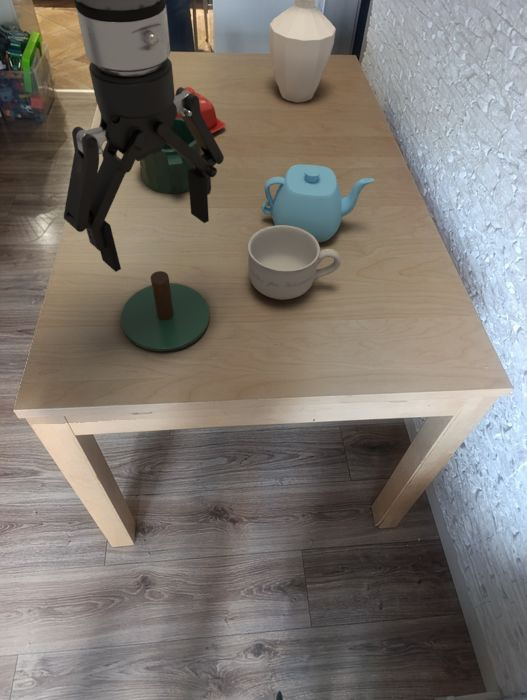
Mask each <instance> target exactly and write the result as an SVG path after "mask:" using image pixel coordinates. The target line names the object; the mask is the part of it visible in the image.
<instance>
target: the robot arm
mask: <svg viewBox="0 0 527 700" xmlns="http://www.w3.org/2000/svg"><path fill="white" fill-rule="evenodd" d="M73 1H74V6H75V9H76V14H77V18H78V19H77V20H78V23H79V29H80V33H81V37H82V43H83V47H84V52H85V55H86V58H87V60H88V61H89V62H90V63H89V65H88V70H89V74H90V80H91V83H92V88H93V92H94V98H95V101H96V105H97V107H98V110H99V113H100V122H99V125H98V127H97V126H96V127H93V128H90V129H85V128H83V127H81V126H75V127H74V128H73V129H72V130H71V136H72V143H73V149H74V153H73V158H72V164H71V171H70V177H69V183H68V188H67V193H66V200H65V206H64V212H63V219H64V220H65V221H66V222H67V223H68V224H69V225H70V226H71V227H72V228H73V229H74V230H76V231H77V232H78V233H83V232H85V230H86V234H87V237H88V241H89V243H90V244H91V245H92V246H93V247H94V248H95V249H96V250H97V251H99V253H100V255H101V259H102V261H103V262H104V263H105V264H106V265H107V266H108V267H109V268H111V269H112V270H113V271H114V273H116V272H119V271H121V270H122V267H121V263H120V258H119V254H118V251H117V247H116V243H115V239H114V234H113V231H112V227H111V224H110V223H109V222H107V221H106V218H107V216H108V214H109V211H110V209H111V207H112V205H113V202H114V200H115V197H116V195H117V194H118V191H119V188H121V187H120V186H121V184H122V182H123V180H124V178H125V175H126V174H127V173H130V172H131V171H132V168H133V166H134V164H135V162H136V161H137V162H140V160H143V159H144V158H146V157H147V156H148V155H150V154H156V153H158V152H161V151H162V147H163V146H164V145H165V143H166V144H168V145H169V146H170V147H171V148H173V149H174V150H175V151H176V152H177V153H179V154H180V155H181V156H182V157H184V158H185V159H186V160H187V161H189V162H190V163H191V164H192V165H194V166H195V169H194V168H193V167H192V168H190V169H188V182H189V191H188V193H189V204H190V214H191V215H192V216H194V217H195V218H196V219H198V220H199V221H200V222H202V223H203V224H206V223H208V222H209V221H210V218H209V200H208V199H209V197H208V196H209V195H210V194H211V192H212V191H211V190H212V183H211V182H212V179H211V178H214V177H215V176H216V175H217V172H218V170H217V168H216V167H215V166H216V164H217V165H221V164H222V163H223V162H224V157H225V156H224V154H223V153H222V150H221V149H220V147H219V145H218V143H217V141H216V140H215V138H214V136H213V133H212V134H211V132H210V130H209V128H208V126H207V124H206V122H205V120H204V119H203V117H202V115H201V110H200V103H199V98H198V97H197V96H196V95H194V94H192V93H191V92H189V91H187V90H186V89H184V88H185V87H182V86H180V87H178V88H177V89H176V91H175V83H174V73H173V63H172V61H171V60H170V58H169V57H170V54H171V44H170V33H169V32H170V31H169V22H168V11H167V10H168V9H167V1H166V0H73ZM175 95H176V96H175ZM177 113H178V114H180V115H181V116H182V118H183V120H184V122H185V123H186V125H187V127H188V128H189V130H190V132H191V134H192V135H193V137H194V139H195V140H196V142H197V144H198V145H199V147H200V149H201V151H202V152H203V154H202V155H201V156H200V155H199V154H198V153H197V152H195V151H194V150H193V149H192V148H191V147H190V146H189V145H187V144H186V143H185V142H184V141H183V140H182V139H181V138H180V137H179V136H178V135H176V134H175V133H174V132H173V131H172V130H171V129H172V126H173V124H174V121H175V119H176V116H177ZM105 142H106V143H105ZM104 143H105V146H104V148H102V147H103V144H104ZM118 152H119V153H121V154H122V157H121V158H120V157H119V156H118V154H117V153H118ZM100 155H102V161H101V164H100Z"/></svg>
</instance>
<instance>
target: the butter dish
mask: <svg viewBox="0 0 527 700" xmlns="http://www.w3.org/2000/svg"><path fill="white" fill-rule="evenodd" d="M183 88H184V89H186V90H187V91H189V92H191V93H192V94H194V95H196V96H197V97H198V98H199V103H200V110H201V115H202V117H203V119H204V120H205V122H206V124H207V126H208V128H209V130H210V132H211V134H212V135H213V134H214V133H216V132H218V131H220V130H222V129H224V128H225V127H226V123H225V122H224V121H222V120H221V119H219V118H218V117H217V114H216V110H215V106H214V105H213V103H212V102H211V101H210V100H209V99H208V98H206V97H205V96H204V95H202V94H200V93H199V92H196V90H195V89H194V88H193V87H190V86H186V87H183ZM175 96H176V94H175ZM176 117H177V118H182V116H181V115H180V114H178V113H177V116H176Z"/></svg>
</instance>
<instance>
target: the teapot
mask: <svg viewBox="0 0 527 700" xmlns="http://www.w3.org/2000/svg"><path fill="white" fill-rule="evenodd" d="M374 181H375V178H373V177H365V178H361V179H359V180H357V181H356V182H355V183H354V184H353V186H352V189H351V191H350V193H348V195H346V196H344V197H342V193H341V190H340V187H339V183H338V180H337V177H336V174H335V172H334V171H333V170H332V169H331V168H330V167H328V166H322V165H316V164H295V165H292V166H291V167H290V168H289V169H288V170H287V172H286V173H285V175H284V176H283V177H282V176H273V177H271V178H269V179H268V180H266V182H265V184H264V195H265V197H266V200H267V201H264V202H263V203H262V205H261V210H262V213H264V214H265V215H271V217H272V221H273V224H274V226H277V225H287V226H293V227H297V228H300V229H302V230H305V231H307V232H308V233H310V234H311V235H313V236H314V237H315V239H316V240H317V242H318V243H323V242H326V241H328V240H330V239H331V238H332V237H333V236H334V235H335V234H336V233H337V231H338V229H339V228H340V226H341V222H342V218H344V217H346V216H347V215H350V213H351V212H353V210H354V209H355V207H356V205H357V202H358V199H359V197H360V194H361V192H362V190H363V189H364V188H365V187H366V186H367V185H369V184H371V183H373V182H374ZM273 185H278V187H277V189H276V192H275V195H274V198H273V196H272V193H271V191H270V190H271V189H270V188H271V186H273Z"/></svg>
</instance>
